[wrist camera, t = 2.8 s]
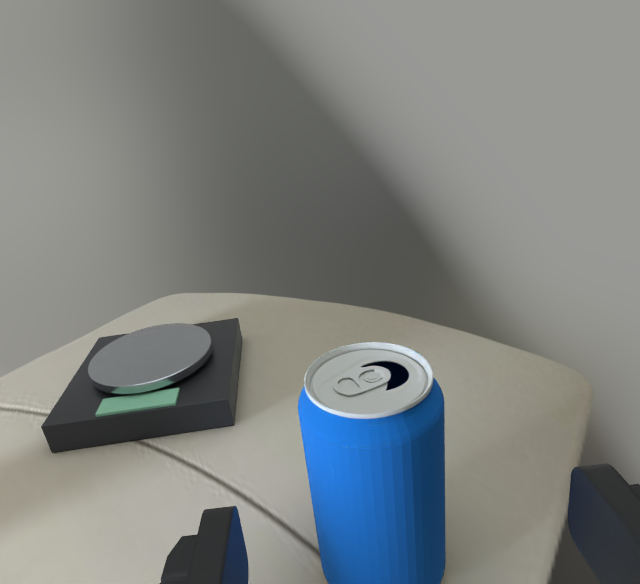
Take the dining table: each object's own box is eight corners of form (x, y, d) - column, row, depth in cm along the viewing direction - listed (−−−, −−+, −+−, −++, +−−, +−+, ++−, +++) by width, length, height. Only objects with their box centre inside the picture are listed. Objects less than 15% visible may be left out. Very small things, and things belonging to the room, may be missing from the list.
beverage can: (472, 585, 25) (477, 386, 20) (359, 651, 22) (334, 444, 18) (400, 497, 30) (391, 324, 25) (304, 543, 28) (273, 363, 23)
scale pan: (149, 325, 50) (147, 318, 49) (235, 337, 45) (233, 329, 45) (63, 383, 41) (60, 374, 41) (159, 404, 37) (156, 395, 37)
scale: (234, 425, 38) (227, 396, 37) (51, 453, 38) (39, 424, 37) (242, 339, 51) (237, 315, 50) (106, 358, 51) (98, 335, 49)
